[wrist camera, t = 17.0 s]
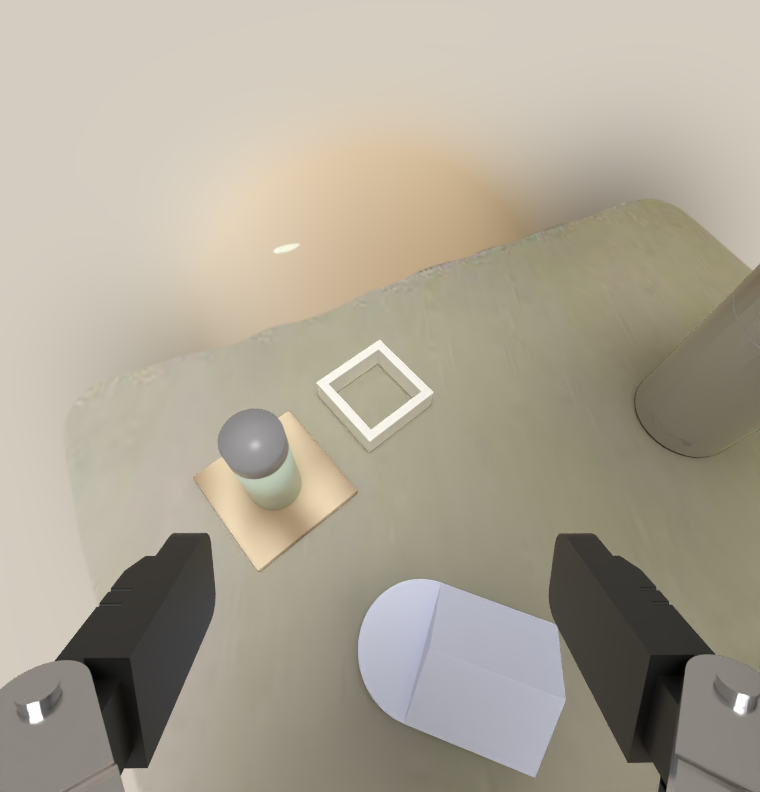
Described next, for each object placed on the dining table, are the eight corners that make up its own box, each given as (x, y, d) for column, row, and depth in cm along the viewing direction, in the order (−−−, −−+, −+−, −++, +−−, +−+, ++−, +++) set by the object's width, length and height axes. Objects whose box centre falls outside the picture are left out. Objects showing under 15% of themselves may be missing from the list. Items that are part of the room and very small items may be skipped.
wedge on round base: (541, 627, 37) (381, 568, 38) (575, 621, 31) (384, 552, 32) (519, 767, 32) (340, 693, 34) (554, 790, 26) (335, 700, 28)
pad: (289, 413, 45) (288, 410, 44) (357, 493, 41) (357, 491, 41) (194, 479, 41) (192, 477, 41) (259, 572, 38) (257, 570, 37)
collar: (378, 354, 48) (379, 339, 46) (430, 405, 46) (433, 392, 43) (318, 396, 46) (316, 382, 44) (369, 452, 43) (369, 441, 41)
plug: (281, 450, 42) (260, 397, 33) (311, 487, 41) (297, 441, 32) (239, 481, 41) (205, 434, 32) (268, 521, 39) (241, 482, 30)
